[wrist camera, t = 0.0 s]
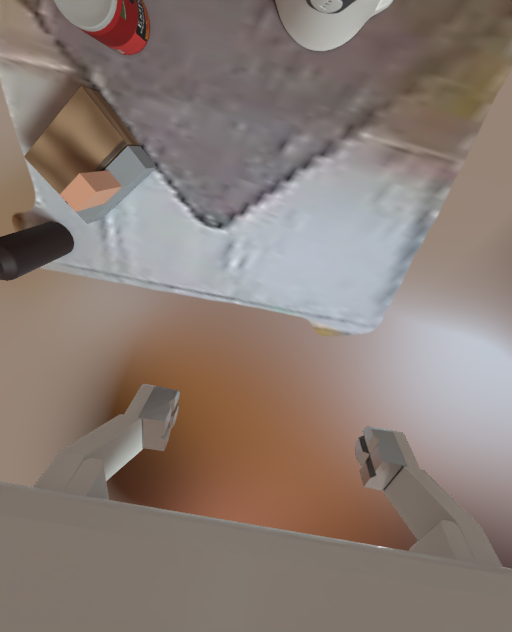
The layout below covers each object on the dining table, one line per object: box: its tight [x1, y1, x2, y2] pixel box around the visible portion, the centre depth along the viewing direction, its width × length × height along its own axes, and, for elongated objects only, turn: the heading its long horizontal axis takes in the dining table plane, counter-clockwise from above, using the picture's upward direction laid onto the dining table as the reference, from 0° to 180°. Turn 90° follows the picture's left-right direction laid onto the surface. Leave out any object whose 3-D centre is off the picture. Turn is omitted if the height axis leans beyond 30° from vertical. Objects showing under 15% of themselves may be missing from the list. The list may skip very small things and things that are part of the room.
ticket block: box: [24, 86, 140, 204], centre depth 48 cm, size 16×9×5 cm, turn 125°
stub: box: [60, 146, 156, 224], centre depth 47 cm, size 16×4×13 cm, turn 125°
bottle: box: [0, 222, 74, 281], centre depth 50 cm, size 7×7×20 cm
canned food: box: [54, 0, 150, 55], centre depth 36 cm, size 8×8×11 cm
